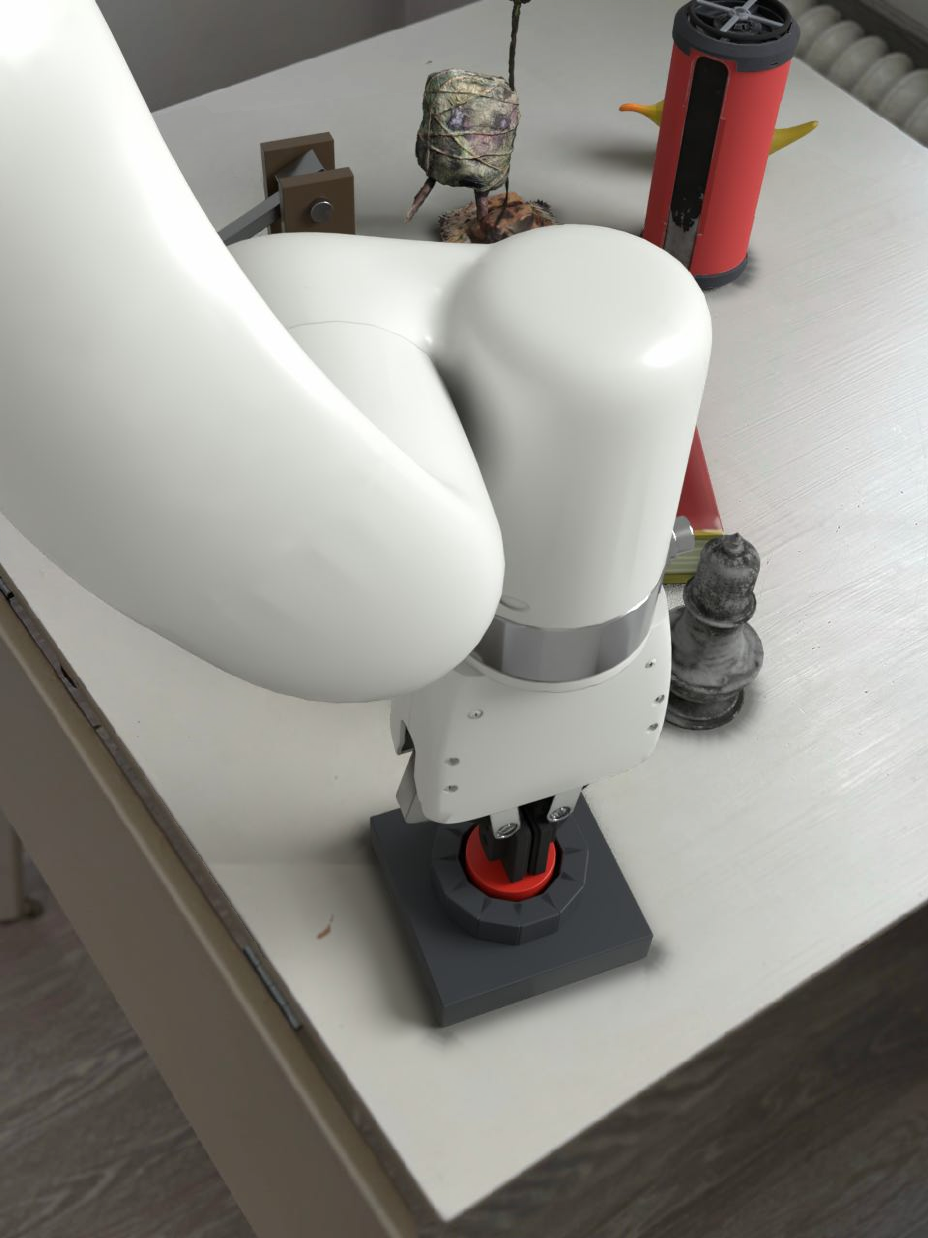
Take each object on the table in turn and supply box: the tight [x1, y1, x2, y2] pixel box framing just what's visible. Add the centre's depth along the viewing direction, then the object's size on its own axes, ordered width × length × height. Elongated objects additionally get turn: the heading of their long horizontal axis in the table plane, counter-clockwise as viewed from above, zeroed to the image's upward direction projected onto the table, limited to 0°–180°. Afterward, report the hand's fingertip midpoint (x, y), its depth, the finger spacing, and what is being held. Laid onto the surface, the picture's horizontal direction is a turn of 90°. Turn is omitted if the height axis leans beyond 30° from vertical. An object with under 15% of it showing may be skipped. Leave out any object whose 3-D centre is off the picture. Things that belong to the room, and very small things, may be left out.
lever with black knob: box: [216, 149, 327, 246], centre depth 83 cm, size 13×3×3 cm, turn 111°
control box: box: [369, 791, 654, 1028], centre depth 62 cm, size 10×10×4 cm
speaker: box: [639, 0, 802, 290], centre depth 89 cm, size 8×8×18 cm
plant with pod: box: [403, 0, 565, 244], centre depth 89 cm, size 8×11×20 cm
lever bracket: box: [259, 131, 357, 235], centre depth 86 cm, size 10×8×12 cm
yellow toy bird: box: [618, 99, 819, 157], centre depth 101 cm, size 4×15×6 cm, turn 91°
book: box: [662, 424, 726, 585], centre depth 81 cm, size 12×21×4 cm, turn 4°
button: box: [465, 825, 556, 902], centre depth 61 cm, size 4×4×2 cm
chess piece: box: [664, 532, 765, 731], centre depth 67 cm, size 6×6×12 cm
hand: (514, 850), depth 60 cm, fingers closed
